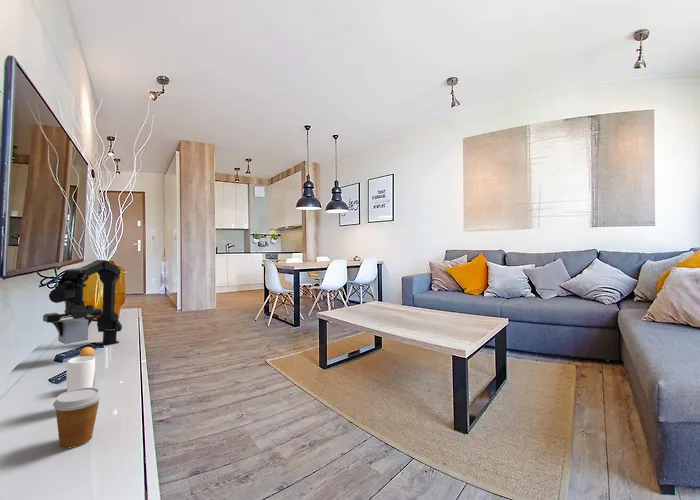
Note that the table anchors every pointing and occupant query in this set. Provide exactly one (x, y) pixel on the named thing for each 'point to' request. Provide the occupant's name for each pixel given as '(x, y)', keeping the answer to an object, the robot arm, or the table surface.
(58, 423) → the disposable coffee cup
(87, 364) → the white paper cup
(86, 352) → the ball
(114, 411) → the table surface
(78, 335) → the grey cube
